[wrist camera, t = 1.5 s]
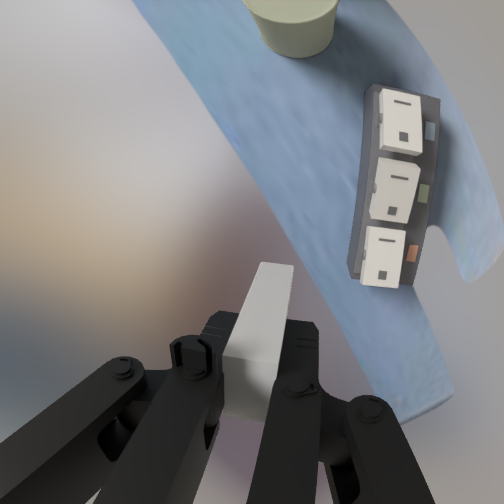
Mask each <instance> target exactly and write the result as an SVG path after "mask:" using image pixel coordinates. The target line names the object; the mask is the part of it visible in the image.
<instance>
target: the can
mask: <svg viewBox="0 0 504 504" xmlns="http://www.w3.org/2000/svg"><path fill="white" fill-rule="evenodd" d="M243 2H244V4H245V5H246V7H247V8H248V9H249V11H250V13H251V15H252V16H253V18H254V20H255V22H256V24H257V26H258V28H259V32H260V35H261V38H262V40H263V41H264V43H265V44H266V45H267V46H268V47H269V48H270V49H271V50H273V51H274V52H276V53H278V54H280V55H283V56H286V57H291V58H306V57H310V56H313V55H316V54H318V53H320V52H321V51H323V50H324V49H325V48H326V47H327V46H328V45H329V44H330V42H331V40H332V38H333V34H334V21H335V16H336V11H337V6H338V2H339V0H243Z"/></svg>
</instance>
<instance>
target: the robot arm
mask: <svg viewBox="0 0 504 504" xmlns="http://www.w3.org/2000/svg"><path fill="white" fill-rule="evenodd" d="M293 270H294V266H292V265H283V264H275V263H266V262H261V263H260V266H259V268H258V271H257V273H256V275H255V278H254V280H253V283H252V285H251V287H250V290H249V292H248V295H247V297H246V300H245V302H244V304H243V307H242V309H241V312H240V314H239V313H232V312H226V311H218V312H217V313H215V314H214V315H212V316H211V317H210V318H209V320H208V322H207V323H206V326H205V327H204V329H203V331H202V334H200V335H187V336H182V337H179V338H177V339H175V340H174V341H173V342H172V343H171V344H170V352H171V359H172V366H173V367H172V368H171V369H168V370H144V367H143V365H142V363H141V362H140V361H139V360H137V359H135V358H132V357H124V356H123V357H122V356H121V357H117V358H113V359H112V360H110V361H108V362H106V363H105V364H104V365H102V366H101V367H100V368H98V369H97V370H96V371H95V372H93V373H92V374H91V375H89V376H88V377H87V378H86V379H84V380H83V381H82V382H80V383H79V384H78V385H76V386H75V387H74V388H72V389H71V390H70V391H68V392H67V393H66V394H64V395H63V396H62V397H61V398H59V399H58V400H57V401H55V402H54V403H53V404H51V405H50V406H49V407H47V408H46V409H45V410H43V411H42V412H41V413H40V414H38V415H37V416H36V417H34V418H33V419H32V420H30V421H29V422H28V423H27V424H25V425H24V426H22V427H21V428H20V429H19V430H17V431H16V432H15V433H13V434H12V435H11V436H9V437H8V438H7V439H5V440H4V441H3V442H2V443H0V504H85V503H86V502H87V501H88V500H89V499H90V498H91V497H92V496H93V495H94V494H95V493H96V492H98V490H100V489H101V490H100V492H99V494H98V496H97V497H96V499H95V501H94V502H93V504H193V501H194V498H195V495H196V492H197V490H198V487H199V484H200V482H201V479H202V476H203V473H204V470H205V468H206V465H207V462H208V459H209V456H210V453H211V450H212V448H213V445H214V442H215V439H216V436H217V434H218V430H219V424H220V421H219V418H220V415H221V412H222V409H223V415H224V416H229V417H235V418H240V419H245V420H251V421H257V422H264V423H265V426H264V430H263V435H262V440H261V444H260V449H259V453H258V457H257V462H256V466H255V470H254V474H253V479H252V483H251V487H250V491H249V495H248V499H247V503H246V504H315V496H316V485H317V473H318V461H320V462H323V463H324V466H325V470H326V475H327V479H328V483H329V487H330V491H331V495H332V499H333V504H435V502H434V500H433V497H432V495H431V493H430V490H429V488H428V485H427V483H426V481H425V479H424V476H423V474H422V472H421V470H420V467H419V465H418V463H417V461H416V459H415V456H414V454H413V452H412V450H411V448H410V446H409V443H408V441H407V439H406V437H405V435H404V433H403V431H402V429H401V427H400V425H399V422H398V420H397V418H396V416H395V414H394V412H393V410H392V408H391V407H390V406H389V404H388V403H387V402H386V401H384V400H383V399H381V398H379V397H376V396H372V395H362V396H359V397H356V398H354V399H352V400H351V401H350V402H346V401H343V400H340V399H337V398H335V397H333V396H330V395H329V394H328V393H326V392H325V391H324V390H323V388H322V387H321V385H320V384H319V380H318V367H319V363H318V362H319V361H318V360H319V350H318V349H319V342H318V341H319V331H318V329H317V328H316V326H315V324H314V323H313V322H307V321H298V320H290V319H287V318H288V310H289V303H290V295H291V287H292V278H293Z"/></svg>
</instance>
